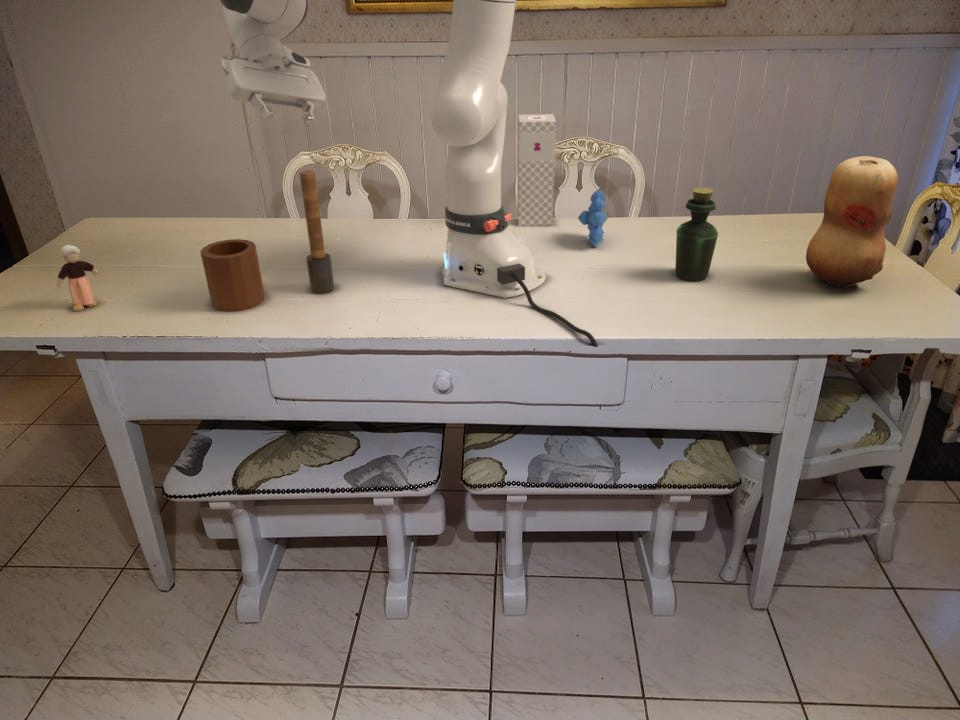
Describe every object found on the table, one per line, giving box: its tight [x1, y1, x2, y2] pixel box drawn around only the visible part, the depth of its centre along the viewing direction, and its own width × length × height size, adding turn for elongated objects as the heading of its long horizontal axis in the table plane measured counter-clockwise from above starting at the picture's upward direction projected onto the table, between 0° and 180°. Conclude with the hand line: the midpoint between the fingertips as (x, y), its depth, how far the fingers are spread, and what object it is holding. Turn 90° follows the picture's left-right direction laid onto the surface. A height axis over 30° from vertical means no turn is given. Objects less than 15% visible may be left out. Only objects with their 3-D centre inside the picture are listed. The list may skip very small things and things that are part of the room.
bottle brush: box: [299, 169, 336, 295], centre depth 143 cm, size 5×5×24 cm
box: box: [516, 113, 557, 227], centre depth 178 cm, size 8×8×25 cm
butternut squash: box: [805, 155, 899, 288], centre depth 141 cm, size 14×13×25 cm
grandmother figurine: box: [56, 244, 99, 312], centre depth 141 cm, size 8×4×13 cm, turn 148°
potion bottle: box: [675, 187, 719, 282], centre depth 147 cm, size 8×8×18 cm
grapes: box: [577, 189, 608, 247], centre depth 167 cm, size 12×7×12 cm, turn 173°
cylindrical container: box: [200, 238, 265, 312], centre depth 142 cm, size 10×10×11 cm
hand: (290, 119), depth 142 cm, fingers open, 8 cm apart
